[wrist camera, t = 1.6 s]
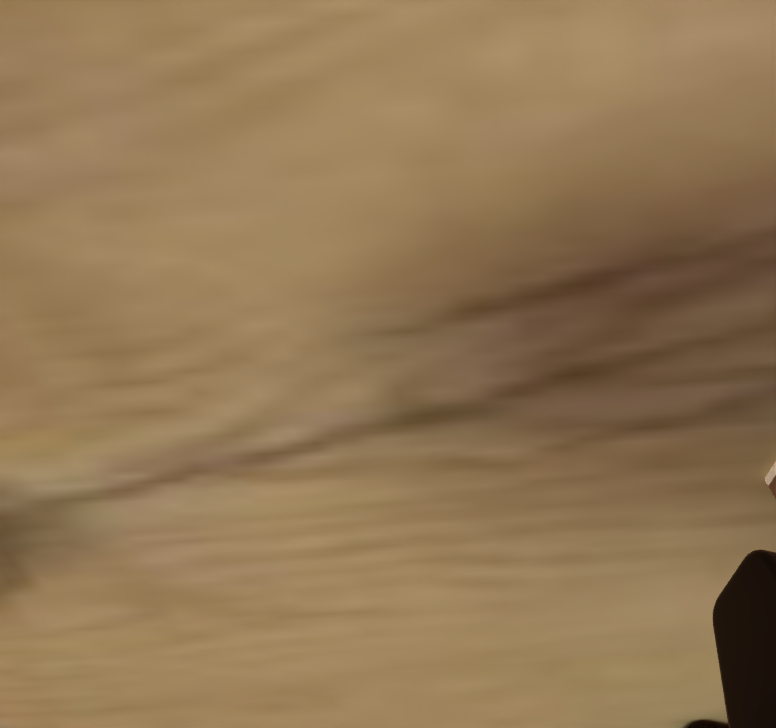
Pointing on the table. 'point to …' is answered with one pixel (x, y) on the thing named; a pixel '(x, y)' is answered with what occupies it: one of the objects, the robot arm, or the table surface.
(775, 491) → the walnut cube
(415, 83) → the table surface
